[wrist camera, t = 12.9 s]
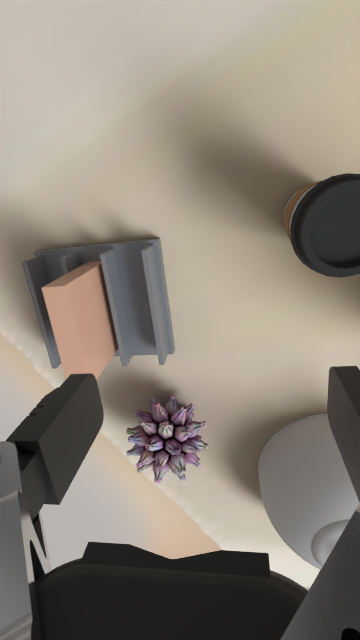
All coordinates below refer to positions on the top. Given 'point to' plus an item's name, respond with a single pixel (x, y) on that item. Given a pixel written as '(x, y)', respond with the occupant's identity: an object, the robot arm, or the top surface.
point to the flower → (166, 439)
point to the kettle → (306, 487)
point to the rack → (113, 293)
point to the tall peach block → (82, 319)
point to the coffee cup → (327, 225)
